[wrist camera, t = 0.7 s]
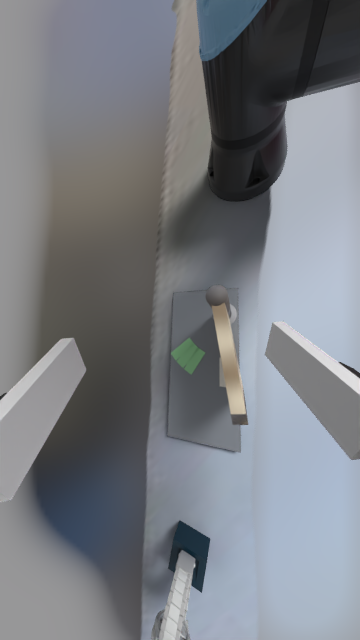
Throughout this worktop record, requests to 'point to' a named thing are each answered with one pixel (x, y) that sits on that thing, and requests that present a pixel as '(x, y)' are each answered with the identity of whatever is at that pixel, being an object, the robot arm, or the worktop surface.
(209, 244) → the worktop surface
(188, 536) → the watch
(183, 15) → the worktop surface
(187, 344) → the grey rectangular base plate
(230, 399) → the beige upright panel
